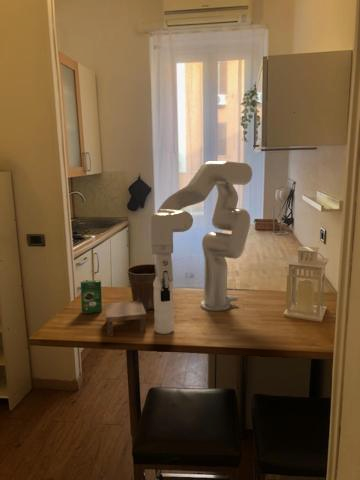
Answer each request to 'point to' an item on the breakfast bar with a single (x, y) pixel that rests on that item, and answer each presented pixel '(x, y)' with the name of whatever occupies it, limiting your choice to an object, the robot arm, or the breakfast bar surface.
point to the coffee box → (91, 296)
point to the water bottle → (163, 309)
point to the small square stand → (125, 313)
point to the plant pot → (143, 284)
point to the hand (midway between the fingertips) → (163, 296)
